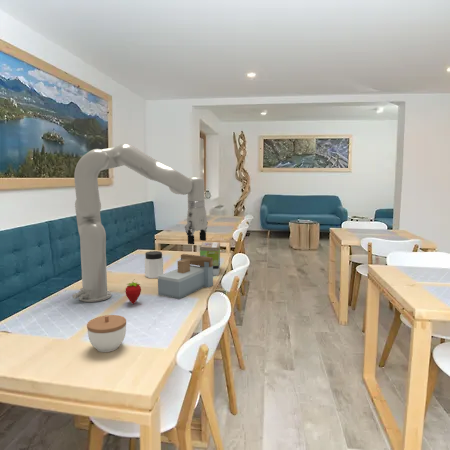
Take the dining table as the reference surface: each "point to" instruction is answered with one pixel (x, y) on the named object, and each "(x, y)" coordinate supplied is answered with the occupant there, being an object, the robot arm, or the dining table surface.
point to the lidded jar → (106, 332)
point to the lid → (182, 272)
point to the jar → (153, 264)
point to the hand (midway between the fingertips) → (197, 242)
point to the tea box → (211, 254)
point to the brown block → (198, 259)
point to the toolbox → (186, 284)
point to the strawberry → (133, 292)
